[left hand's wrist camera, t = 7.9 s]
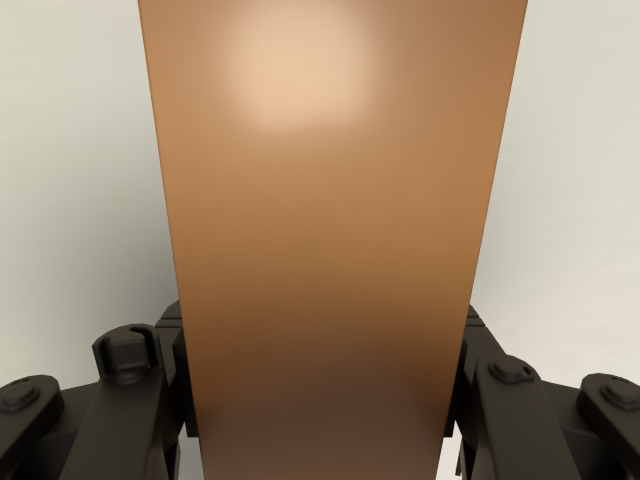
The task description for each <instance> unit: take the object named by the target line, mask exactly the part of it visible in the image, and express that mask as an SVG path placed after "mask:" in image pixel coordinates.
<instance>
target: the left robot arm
mask: <svg viewBox="0 0 640 480" xmlns="http://www.w3.org/2000/svg"><path fill="white" fill-rule="evenodd" d="M92 349H93V353H94V356H95V360H96V364H97V368H98V371H99V375H100V379H99V381H98V382H95V383H92V384H88V385H84V386H79V387H74V388H70V389H65V390H60V387H59V384H58V381H57V380H56V379H55V378H54V377H52V376H47V375H35V376H28V377H25V378H22V379H18V380H15V381H13V382H11V383H9V384H7V385H5V386H3V387H1V388H0V480H178V474H179V463H180V453H181V452H180V445H179V440H178V436H179V434H180V431H181V429H182V426H183V424H184V421H185V425H186V431H187V437H198V430H197V423H196V416H195V409H194V401H193V394H192V387H191V380H190V373H189V365H188V358H187V351H186V344H185V337H184V329H183V322H182V315H181V308H180V301H179V300H178V301H176V302H175V303H173V304H172V305H171V306H169V307H168V308H167V309H166V311H165V312H164V314H163V315H162V316H161V320H159V321H158V322H157V324H156V325H155V327H154V326H152V325H147V324H130V325H126V326H121V327H118V328H116V329H113V330H111V331H108V332H107V333H105V334H104V335H102V336H101V337H99V338H98V339H97V340H96V341H95V343H94V344H93V345H92ZM455 420H456V422H457V425H458V427H459V430H460V432H461V435H462V440H461V445H460V451H459V456H458V461H457V467H456V473H455V475H457V476H460V474H461V473H462V480H640V386H638V385H636V384H635V383H633V382H631V381H629V380H627V379H624V378H621V377H618V376H614V375H610V374H602V373H595V374H589V375H587V376H586V377H585V378H583V379H582V383H581V386H580V389H578V388H573V387H568V386H564V385H559V384H554V383H550V382H547V381H543V380H541V378H540V376H539V375H538V373H537V372H536V371H535V369H534V368H533V367H531V366H530V365H529V364H527V363H526V362H525V361H522V360H520V359H518V358H516V357H514V356H511V355H507V354H506V353H505V352H504V351H503V349H502V348H501V346H500V345H499V343H498V342H497V341H496V339H495V338H494V336H493V335H492V334H491V332H490V331H489V329H488V328H487V327H485V324H484V322H483V321H482V319H481V318H479V315H478V314H477V312H476V311H475V310H474V308H473V307H472V306H471V305H470V304H469V308H468V314H467V319H466V324H465V329H464V334H463V339H462V345H461V350H460V355H459V360H458V365H457V371H456V376H455V381H454V386H453V391H452V397H451V402H450V407H449V412H448V417H447V422H446V428H445V433H444V437H452V436H453V430H454V424H455Z"/></svg>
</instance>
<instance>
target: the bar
mask: <svg viewBox="0 0 640 480" xmlns="http://www.w3.org/2000/svg"><path fill="white" fill-rule="evenodd" d="M527 2H528V0H138V6H139V13H140V20H141V28H142V35H143V42H144V49H145V56H146V64H147V71H148V78H149V85H150V92H151V100H152V107H153V114H154V121H155V128H156V135H157V143H158V150H159V157H160V164H161V171H162V179H163V186H164V193H165V200H166V207H167V215H168V222H169V229H170V236H171V243H172V250H173V258H174V265H175V272H176V279H177V286H178V294H179V301H180V308H181V315H182V322H183V329H184V337H185V344H186V351H187V358H188V365H189V373H190V380H191V387H192V394H193V401H194V409H195V416H196V423H197V430H198V437H199V444H200V452H201V459H202V466H203V473H204V480H435V479H436V474H437V469H438V464H439V459H440V454H441V448H442V443H443V438H444V433H445V428H446V422H447V417H448V412H449V407H450V402H451V397H452V391H453V386H454V381H455V376H456V371H457V365H458V360H459V355H460V350H461V345H462V339H463V334H464V329H465V324H466V319H467V314H468V308H469V303H470V298H471V293H472V288H473V282H474V277H475V272H476V267H477V262H478V257H479V251H480V246H481V241H482V236H483V231H484V225H485V220H486V215H487V210H488V205H489V199H490V194H491V189H492V184H493V179H494V174H495V168H496V163H497V158H498V153H499V148H500V142H501V137H502V132H503V127H504V122H505V116H506V111H507V106H508V101H509V96H510V91H511V85H512V80H513V75H514V70H515V65H516V59H517V54H518V49H519V44H520V39H521V34H522V28H523V23H524V18H525V13H526V8H527Z"/></svg>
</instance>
